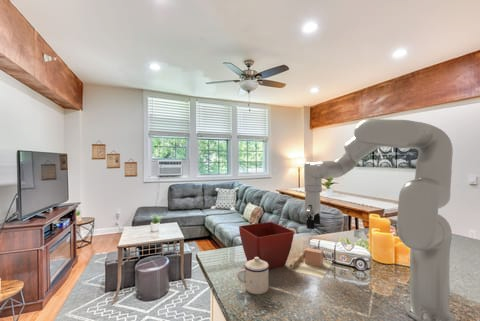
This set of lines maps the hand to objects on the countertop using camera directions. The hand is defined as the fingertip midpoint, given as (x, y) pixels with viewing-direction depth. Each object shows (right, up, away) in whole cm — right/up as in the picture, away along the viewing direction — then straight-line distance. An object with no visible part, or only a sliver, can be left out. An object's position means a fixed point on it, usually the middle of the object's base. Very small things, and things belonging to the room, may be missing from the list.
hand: (313, 226), depth 110 cm
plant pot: (-22, -18, +1) cm, 29 cm away
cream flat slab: (-1, -18, -1) cm, 18 cm away
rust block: (0, -17, 0) cm, 17 cm away
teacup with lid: (-29, -19, -20) cm, 39 cm away
